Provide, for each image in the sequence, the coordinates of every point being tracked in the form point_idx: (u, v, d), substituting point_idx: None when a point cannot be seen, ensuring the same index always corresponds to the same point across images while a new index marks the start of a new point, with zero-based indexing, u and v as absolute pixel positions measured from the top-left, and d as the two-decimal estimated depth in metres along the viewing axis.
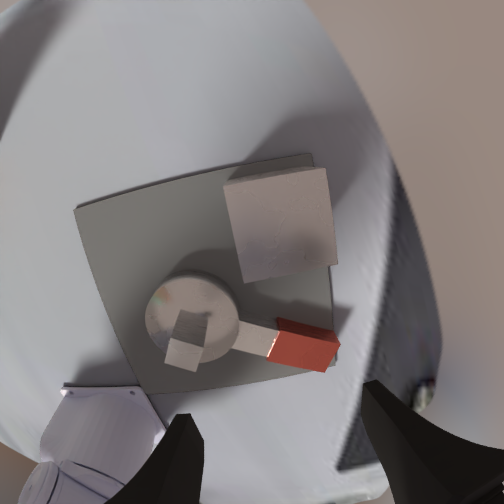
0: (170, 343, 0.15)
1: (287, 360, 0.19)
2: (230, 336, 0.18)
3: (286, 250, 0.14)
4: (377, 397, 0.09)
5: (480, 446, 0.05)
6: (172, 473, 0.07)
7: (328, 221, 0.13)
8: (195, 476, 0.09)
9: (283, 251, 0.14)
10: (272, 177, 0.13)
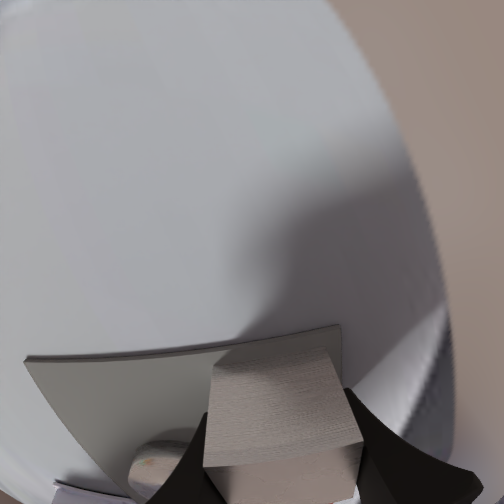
0: None
1: None
2: None
3: (291, 501, 0.08)
4: None
5: (446, 465, 0.05)
6: None
7: (351, 478, 0.07)
8: None
9: (287, 501, 0.08)
10: (279, 459, 0.07)
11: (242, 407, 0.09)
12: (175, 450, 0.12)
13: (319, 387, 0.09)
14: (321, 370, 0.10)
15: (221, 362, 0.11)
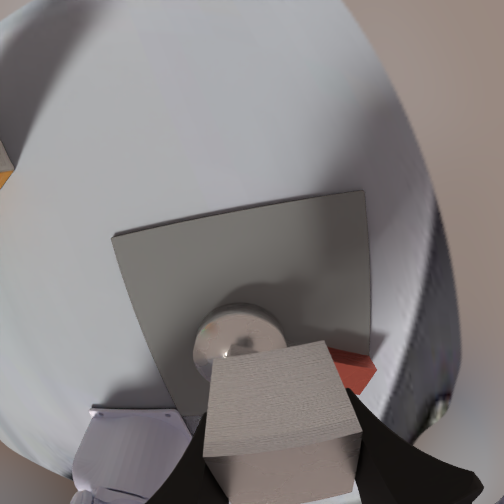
0: None
1: None
2: None
3: (290, 494, 0.08)
4: None
5: (446, 465, 0.05)
6: (207, 473, 0.07)
7: (350, 471, 0.08)
8: None
9: (286, 495, 0.08)
10: (278, 450, 0.07)
11: (242, 398, 0.09)
12: (241, 307, 0.18)
13: (318, 379, 0.09)
14: (320, 363, 0.10)
15: (287, 212, 0.17)
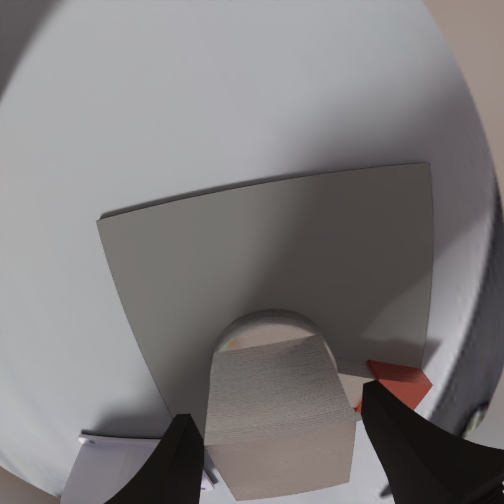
0: None
1: None
2: None
3: (288, 483, 0.08)
4: (377, 397, 0.09)
5: (480, 446, 0.05)
6: (172, 473, 0.07)
7: (346, 460, 0.08)
8: (195, 476, 0.09)
9: (284, 484, 0.08)
10: (276, 437, 0.07)
11: (241, 390, 0.10)
12: (277, 316, 0.13)
13: (314, 371, 0.10)
14: (316, 356, 0.11)
15: (341, 185, 0.12)
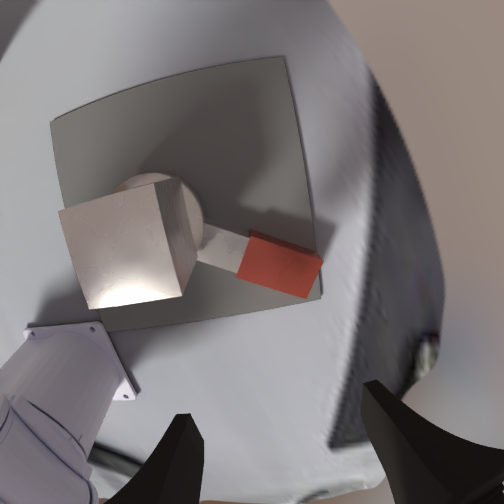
0: None
1: (260, 278, 0.17)
2: None
3: (121, 278, 0.12)
4: (377, 397, 0.09)
5: (480, 446, 0.05)
6: (172, 473, 0.07)
7: (162, 246, 0.11)
8: (195, 476, 0.09)
9: (119, 279, 0.12)
10: (99, 199, 0.11)
11: (103, 196, 0.13)
12: (156, 172, 0.16)
13: None
14: None
15: (203, 77, 0.15)
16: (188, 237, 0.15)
